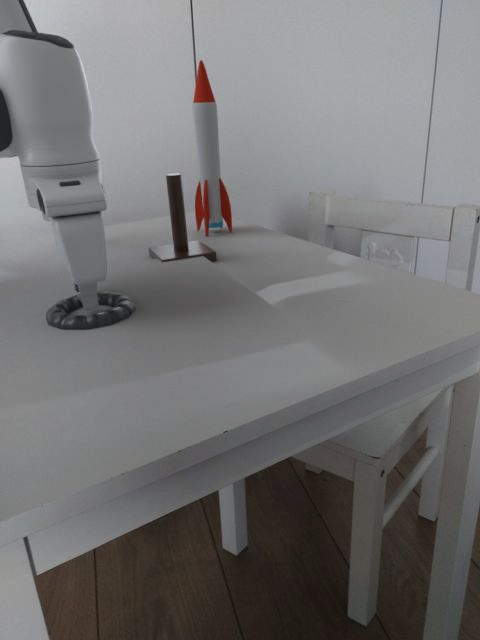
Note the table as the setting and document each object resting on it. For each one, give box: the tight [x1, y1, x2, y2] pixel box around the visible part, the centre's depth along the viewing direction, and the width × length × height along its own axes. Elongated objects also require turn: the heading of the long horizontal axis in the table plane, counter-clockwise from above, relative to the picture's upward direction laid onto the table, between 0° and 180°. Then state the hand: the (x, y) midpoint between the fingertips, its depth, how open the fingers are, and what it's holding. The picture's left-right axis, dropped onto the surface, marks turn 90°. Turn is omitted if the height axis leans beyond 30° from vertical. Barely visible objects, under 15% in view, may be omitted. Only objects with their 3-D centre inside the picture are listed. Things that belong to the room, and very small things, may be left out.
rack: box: [148, 172, 218, 263], centre depth 92 cm, size 9×9×14 cm
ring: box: [45, 291, 137, 331], centre depth 70 cm, size 10×10×2 cm
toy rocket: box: [192, 59, 233, 237], centre depth 105 cm, size 6×6×30 cm
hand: (86, 298), depth 73 cm, fingers open, 6 cm apart
